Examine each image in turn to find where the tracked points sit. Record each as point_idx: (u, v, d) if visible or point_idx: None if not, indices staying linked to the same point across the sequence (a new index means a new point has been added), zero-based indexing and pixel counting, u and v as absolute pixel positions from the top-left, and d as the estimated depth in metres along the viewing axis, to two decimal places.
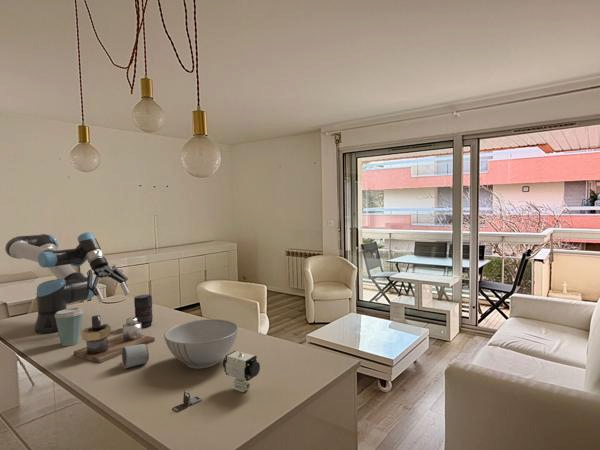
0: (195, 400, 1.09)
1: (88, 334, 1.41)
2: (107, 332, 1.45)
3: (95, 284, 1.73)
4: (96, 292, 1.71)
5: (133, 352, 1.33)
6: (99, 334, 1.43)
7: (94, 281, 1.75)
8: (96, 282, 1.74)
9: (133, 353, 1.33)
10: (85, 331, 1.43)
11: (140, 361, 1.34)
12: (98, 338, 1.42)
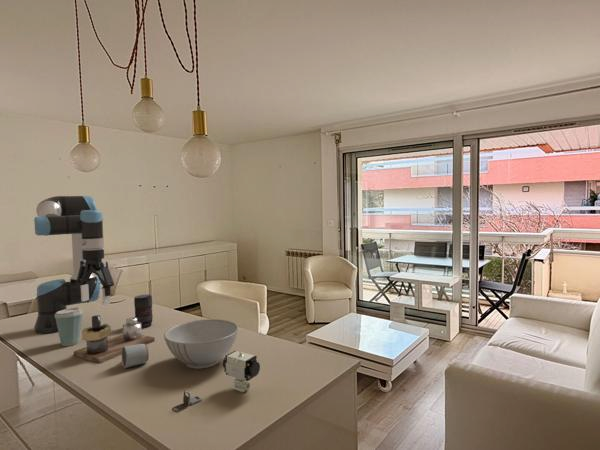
0: (195, 400, 1.09)
1: (88, 334, 1.41)
2: (107, 332, 1.45)
3: (81, 281, 1.48)
4: None
5: (132, 352, 1.33)
6: (99, 334, 1.43)
7: None
8: (82, 279, 1.47)
9: (133, 353, 1.33)
10: (85, 331, 1.43)
11: (140, 361, 1.35)
12: (98, 338, 1.42)
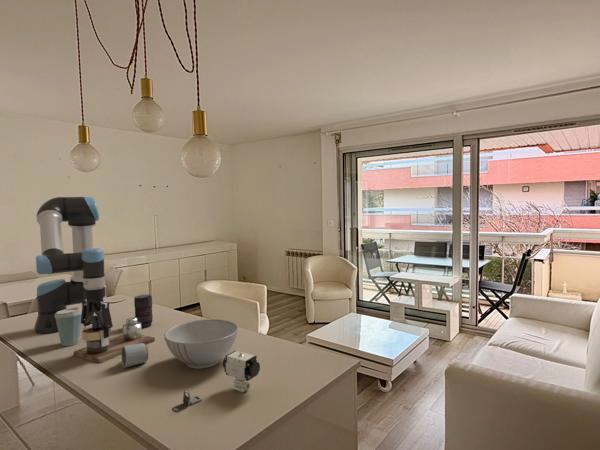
0: (195, 400, 1.09)
1: (88, 334, 1.41)
2: None
3: (85, 321, 1.48)
4: None
5: (132, 352, 1.34)
6: (99, 334, 1.43)
7: None
8: (85, 319, 1.47)
9: (132, 352, 1.34)
10: (85, 331, 1.43)
11: (140, 360, 1.35)
12: (98, 338, 1.42)
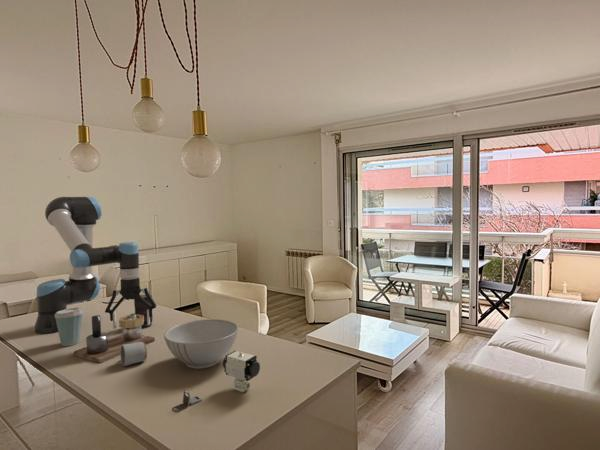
0: (195, 400, 1.09)
1: (135, 321, 1.57)
2: (143, 318, 1.63)
3: (113, 309, 1.57)
4: (111, 318, 1.57)
5: (131, 350, 1.35)
6: (142, 320, 1.60)
7: None
8: (115, 307, 1.57)
9: (131, 351, 1.35)
10: (127, 320, 1.56)
11: (138, 359, 1.36)
12: (142, 323, 1.60)
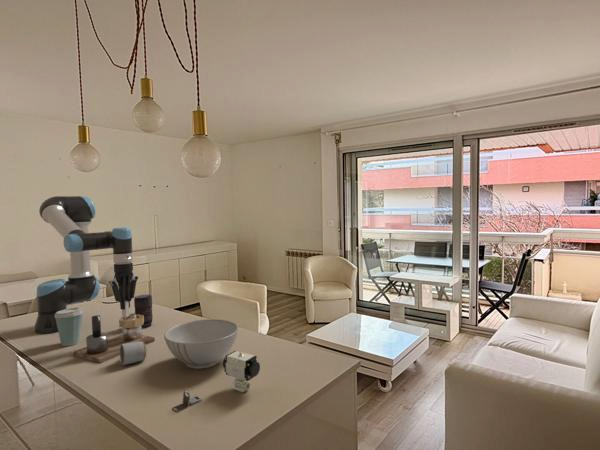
0: (195, 400, 1.09)
1: (135, 321, 1.57)
2: (143, 318, 1.63)
3: (123, 297, 1.60)
4: (123, 307, 1.60)
5: (130, 349, 1.36)
6: (142, 320, 1.60)
7: (120, 292, 1.60)
8: (123, 294, 1.60)
9: (130, 350, 1.36)
10: (127, 320, 1.56)
11: (138, 358, 1.37)
12: (142, 323, 1.60)
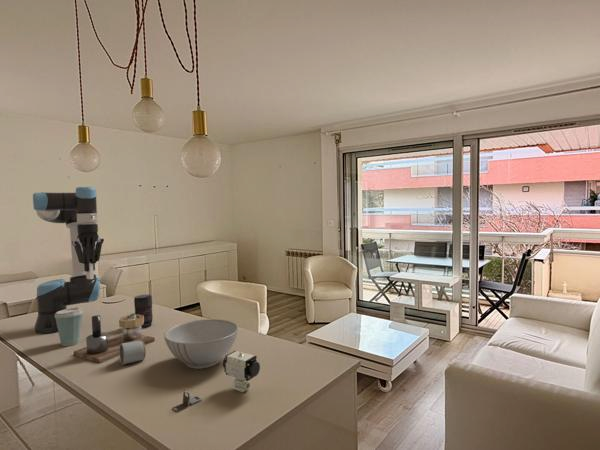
0: (195, 400, 1.09)
1: (135, 321, 1.57)
2: (143, 318, 1.63)
3: (87, 259, 1.55)
4: (87, 269, 1.55)
5: (130, 349, 1.36)
6: (142, 320, 1.60)
7: (84, 253, 1.55)
8: (87, 256, 1.55)
9: (130, 350, 1.36)
10: (127, 320, 1.56)
11: (137, 358, 1.38)
12: (142, 323, 1.60)
